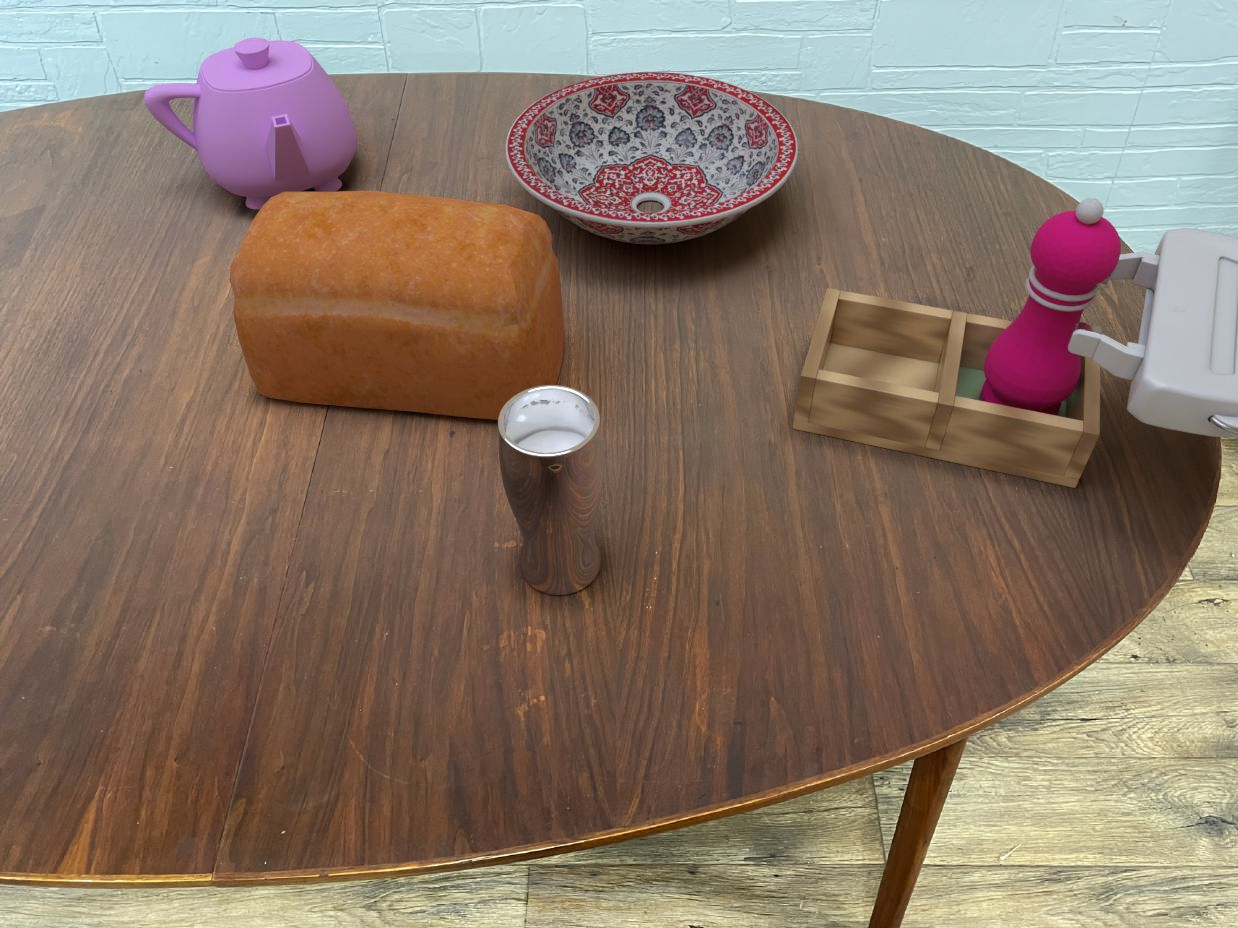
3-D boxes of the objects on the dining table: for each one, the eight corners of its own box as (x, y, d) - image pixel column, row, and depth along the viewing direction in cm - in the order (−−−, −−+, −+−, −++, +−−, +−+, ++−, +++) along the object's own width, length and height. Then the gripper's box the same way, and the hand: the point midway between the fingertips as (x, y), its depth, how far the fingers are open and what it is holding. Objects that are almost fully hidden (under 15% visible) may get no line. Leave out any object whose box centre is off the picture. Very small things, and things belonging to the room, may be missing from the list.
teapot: (197, 261, 104) (145, 122, 93) (170, 164, 117) (122, 32, 106) (388, 214, 109) (361, 78, 98) (343, 127, 122) (315, -3, 111)
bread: (544, 433, 87) (531, 280, 75) (245, 405, 90) (188, 252, 78) (572, 329, 96) (564, 178, 85) (301, 305, 99) (257, 156, 87)
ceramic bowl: (483, 282, 101) (474, 211, 95) (541, 130, 121) (536, 64, 115) (784, 306, 98) (794, 234, 92) (793, 146, 118) (802, 79, 112)
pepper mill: (1048, 380, 89) (1129, 172, 74) (1072, 440, 84) (1164, 230, 69) (963, 380, 89) (1027, 172, 75) (982, 440, 84) (1055, 230, 70)
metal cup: (619, 538, 79) (617, 394, 68) (589, 611, 75) (582, 468, 64) (533, 518, 81) (518, 373, 70) (499, 587, 76) (477, 444, 65)
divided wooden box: (1078, 390, 90) (1100, 336, 85) (1075, 488, 82) (1100, 434, 78) (818, 340, 95) (826, 287, 90) (792, 428, 87) (800, 375, 83)
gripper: (1261, 478, 69) (1045, 418, 72) (1266, 304, 81) (1083, 261, 85) (1307, 409, 64) (1074, 349, 68) (1305, 236, 77) (1110, 194, 81)
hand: (1079, 299), depth 77 cm, fingers open, 8 cm apart
